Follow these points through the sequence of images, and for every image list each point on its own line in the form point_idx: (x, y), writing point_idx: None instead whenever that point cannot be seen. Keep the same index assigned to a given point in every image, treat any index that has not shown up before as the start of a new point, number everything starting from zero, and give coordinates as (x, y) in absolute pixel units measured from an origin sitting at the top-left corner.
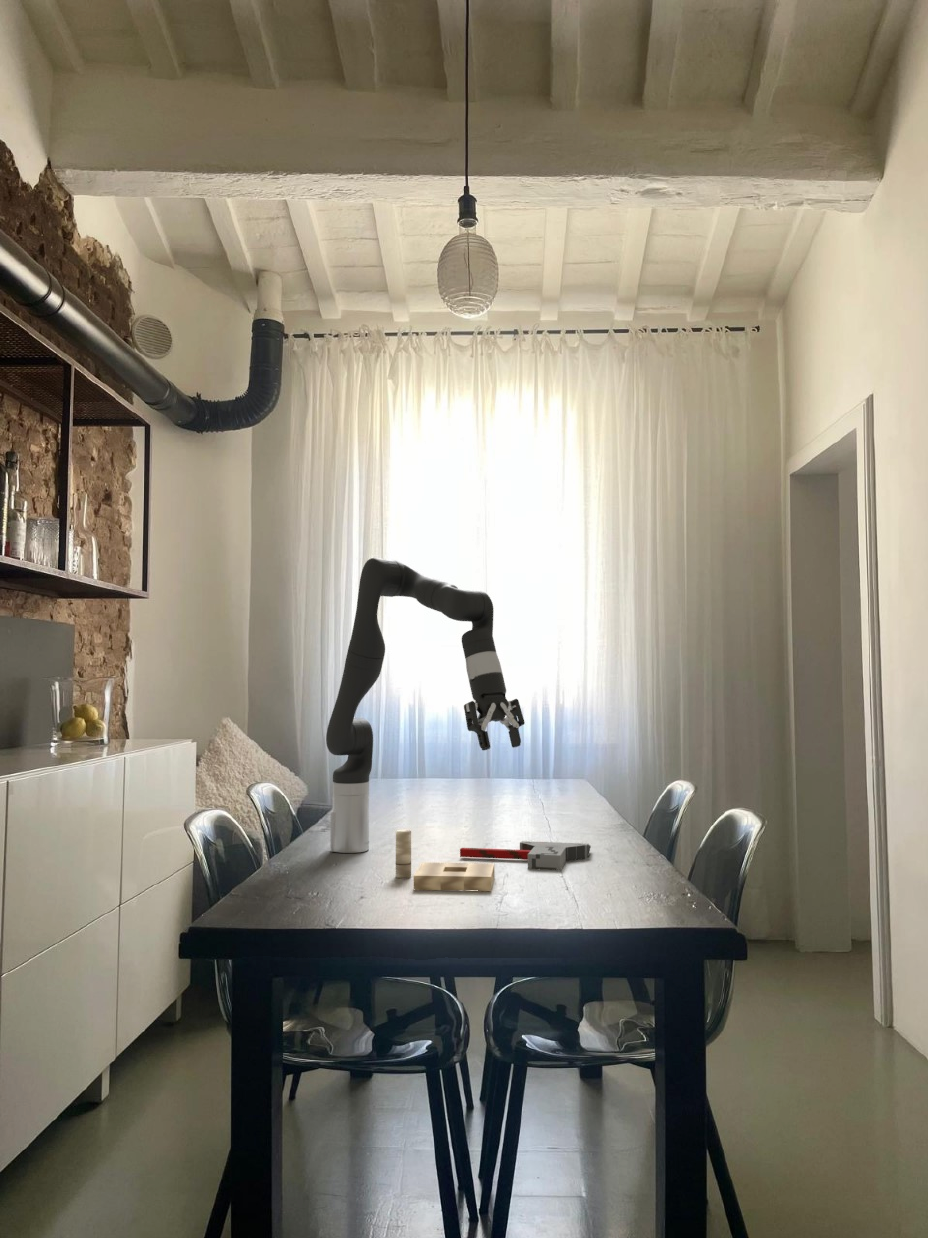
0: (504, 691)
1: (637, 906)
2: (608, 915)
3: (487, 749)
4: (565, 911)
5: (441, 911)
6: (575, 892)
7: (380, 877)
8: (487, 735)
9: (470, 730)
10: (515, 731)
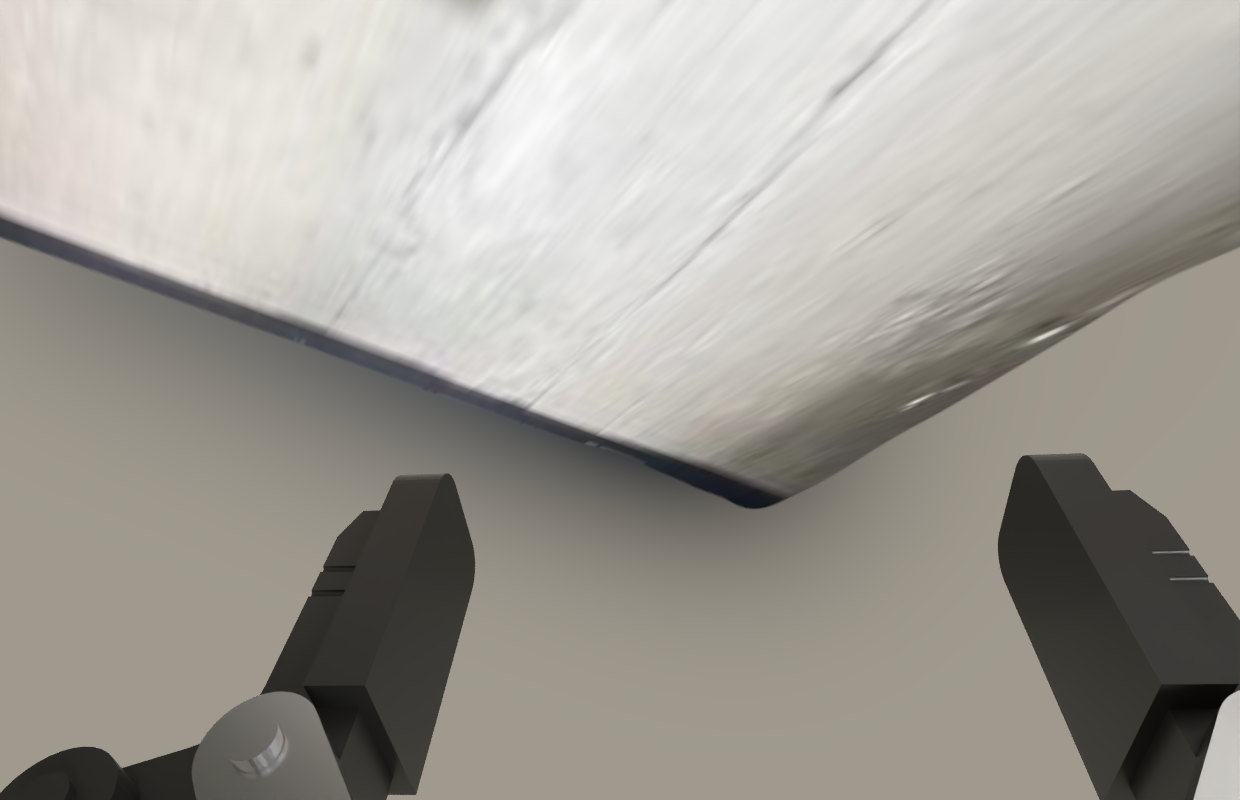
0: None
1: (805, 350)
2: (665, 370)
3: (459, 516)
4: (594, 302)
5: (194, 123)
6: (815, 149)
7: None
8: (422, 725)
9: (78, 777)
10: (1085, 755)
